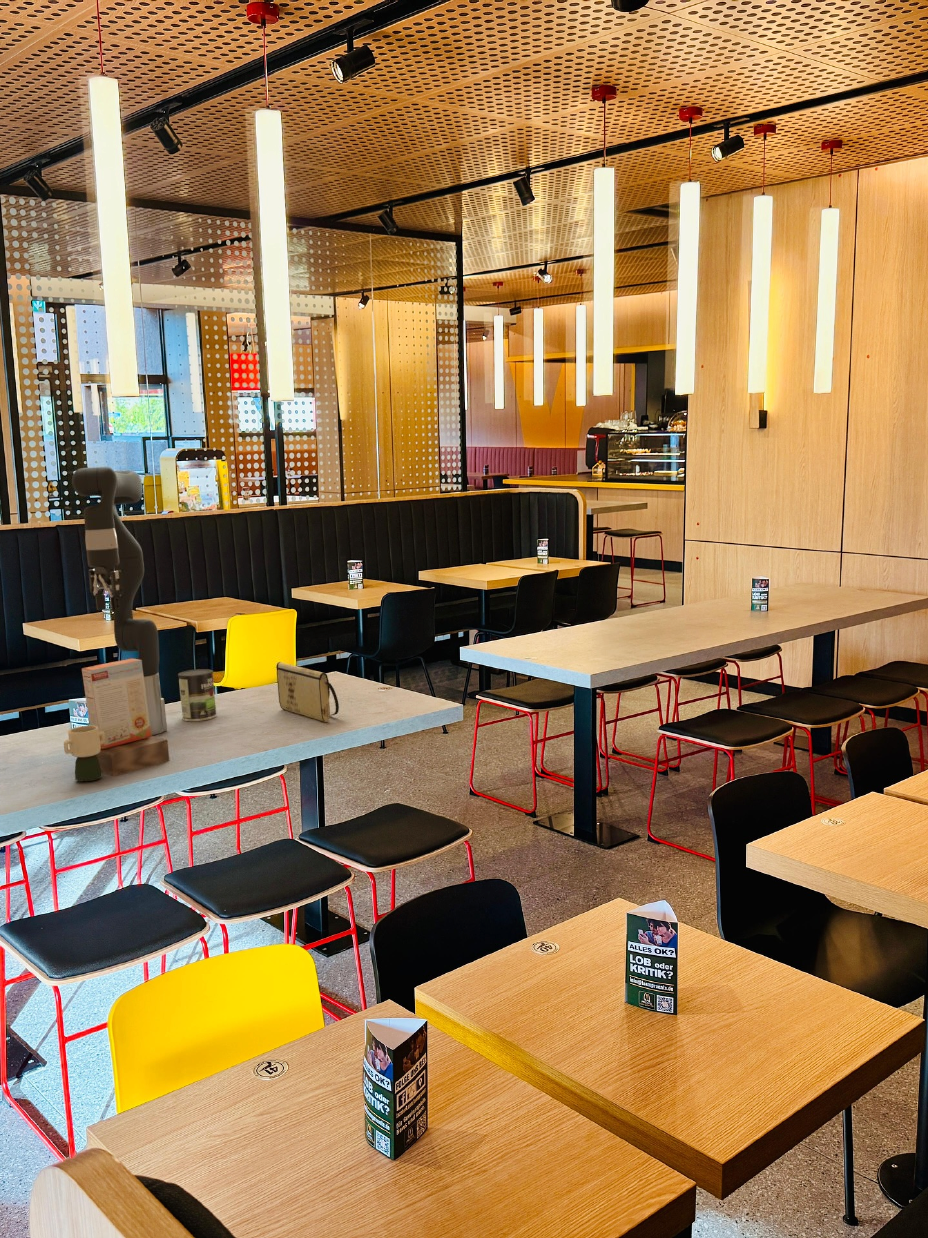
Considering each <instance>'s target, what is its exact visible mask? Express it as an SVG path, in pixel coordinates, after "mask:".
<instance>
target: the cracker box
mask: <svg viewBox="0 0 928 1238" xmlns="http://www.w3.org/2000/svg"><path fill="white" fill-rule="evenodd" d="M81 673H82V674H81V675H82V680H83V687H84V688H83V689H84V695H85V701H86V708H87V715H88V721H89V722H88V723H89V726H97V727H98V728H99V732H101V731H103V732H104V734H105V743H104V744H102V745H100V746H101V749H106V748H110V747H113V746H117V745H121V744H125V743H129V742H133V741H137V740H141V739H145V738H149V737H151V736H152V735H151V728H150V720H149V713H148V705H147V697H146V690H145V683H144V675H143V668H142V660H139V659H138V658H137V659H136V658H133V657H132V658H128V659H122V660H117V661H110V662H108V663H102V664H96V665H93V666H92V665H91V666H88V667H83V668H81ZM99 737H100V741H101V736H99Z"/></svg>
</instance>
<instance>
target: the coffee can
mask: <svg viewBox="0 0 928 1238" xmlns="http://www.w3.org/2000/svg"><path fill="white" fill-rule="evenodd" d="M177 677H178V683H179V695H180V704H181V713H182V714H181V715H182V721H184V722H185V721H186V722H202V721H203V722H204V721H208V720H212V719H214V718H216V717H217V716H218V715H217V708H216V696H215V686H214V685H215V683H214V670H212V669H209V668H206V669H205V668H203V669H202V668H201V669H199V668H198V669H190V670H185V671H181V672H179V673H177Z"/></svg>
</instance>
